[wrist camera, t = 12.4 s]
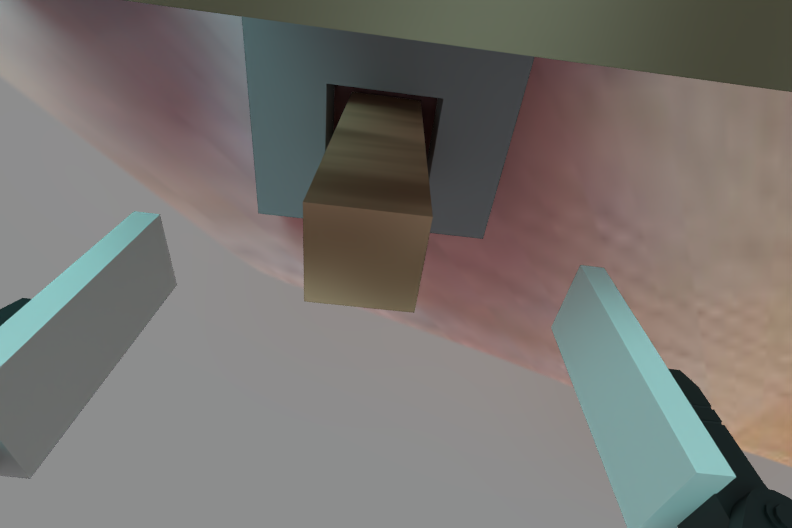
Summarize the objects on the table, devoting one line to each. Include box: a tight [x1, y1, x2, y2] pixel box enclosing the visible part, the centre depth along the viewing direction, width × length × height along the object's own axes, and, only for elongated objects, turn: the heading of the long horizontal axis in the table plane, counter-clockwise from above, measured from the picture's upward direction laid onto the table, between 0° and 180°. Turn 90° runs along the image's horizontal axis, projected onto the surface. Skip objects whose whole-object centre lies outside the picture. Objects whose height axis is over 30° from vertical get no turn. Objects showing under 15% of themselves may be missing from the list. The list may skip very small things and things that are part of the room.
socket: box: [242, 17, 534, 239], centre depth 23 cm, size 14×14×3 cm
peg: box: [303, 92, 433, 313], centre depth 20 cm, size 4×4×14 cm
